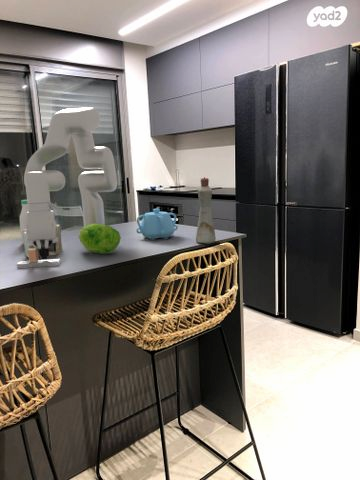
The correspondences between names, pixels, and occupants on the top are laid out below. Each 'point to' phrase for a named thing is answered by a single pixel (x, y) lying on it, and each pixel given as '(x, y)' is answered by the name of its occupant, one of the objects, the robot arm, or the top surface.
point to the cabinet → (53, 244)
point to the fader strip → (38, 263)
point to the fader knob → (33, 255)
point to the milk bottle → (23, 217)
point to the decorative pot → (157, 224)
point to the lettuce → (99, 238)
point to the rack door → (27, 245)
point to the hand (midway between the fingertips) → (44, 258)
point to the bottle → (205, 214)
